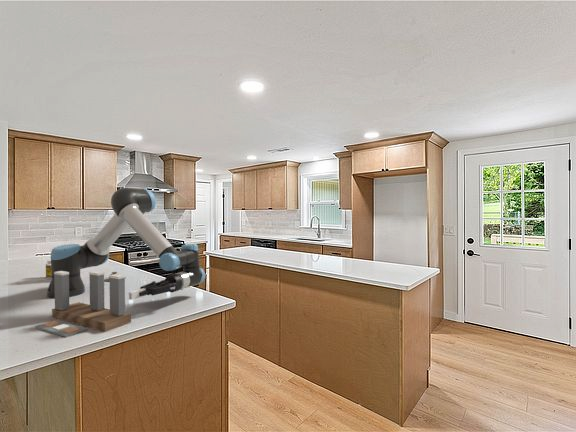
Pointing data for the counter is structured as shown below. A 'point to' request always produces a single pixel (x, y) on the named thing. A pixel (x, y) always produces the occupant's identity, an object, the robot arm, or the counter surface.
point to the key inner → (61, 290)
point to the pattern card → (61, 328)
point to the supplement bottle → (48, 269)
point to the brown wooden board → (91, 317)
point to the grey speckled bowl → (110, 274)
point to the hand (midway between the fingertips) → (130, 296)
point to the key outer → (117, 294)
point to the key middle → (96, 290)
